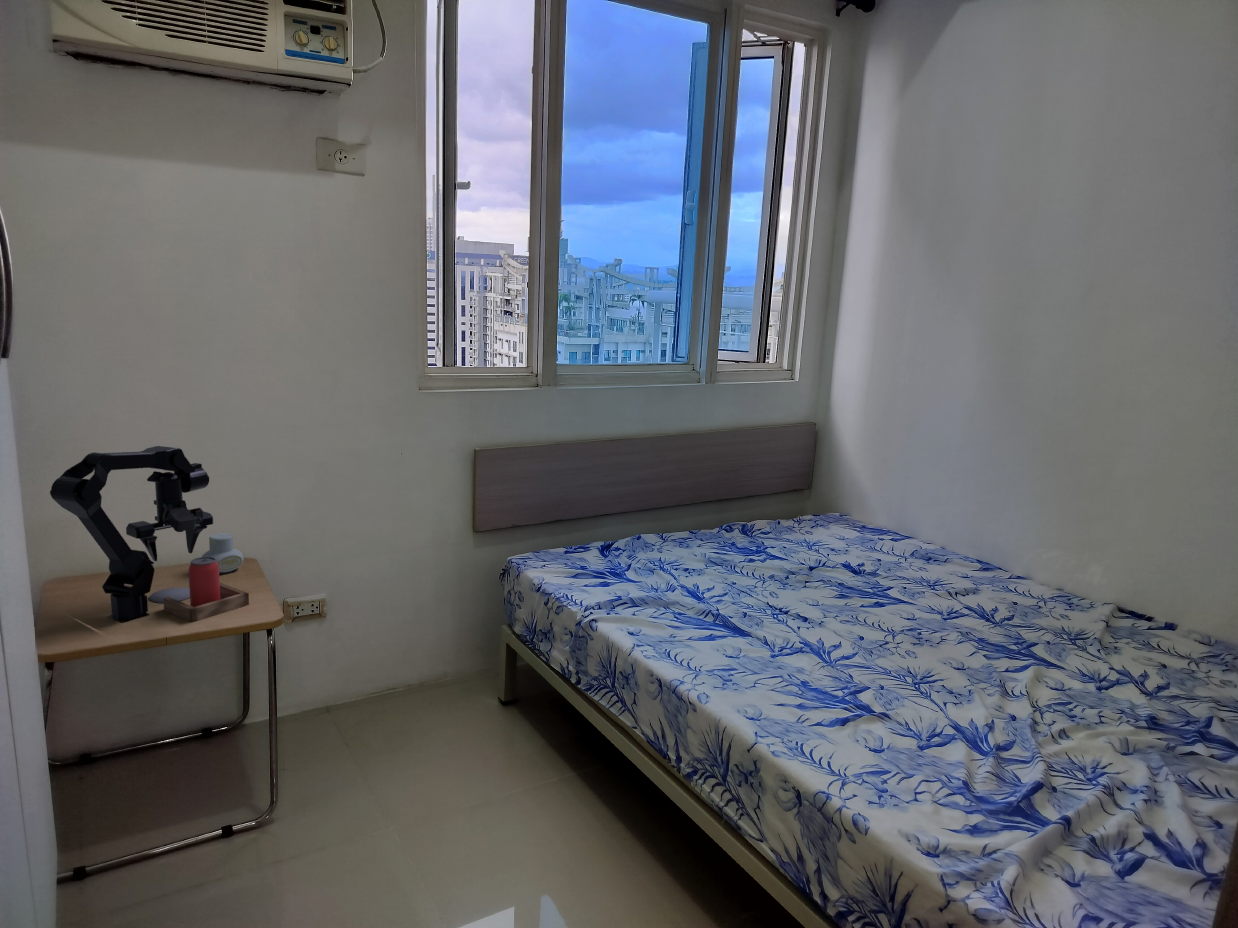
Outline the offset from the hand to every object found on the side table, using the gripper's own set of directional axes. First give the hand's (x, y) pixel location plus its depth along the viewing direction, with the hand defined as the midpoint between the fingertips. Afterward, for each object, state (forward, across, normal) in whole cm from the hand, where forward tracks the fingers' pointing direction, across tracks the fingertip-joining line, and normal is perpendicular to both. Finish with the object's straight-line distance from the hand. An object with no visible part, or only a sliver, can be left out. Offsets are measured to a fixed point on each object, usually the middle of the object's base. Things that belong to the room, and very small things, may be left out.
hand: (173, 556), depth 198 cm
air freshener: (+11, +18, +11) cm, 24 cm away
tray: (+10, +1, -12) cm, 16 cm away
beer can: (+11, +1, -12) cm, 16 cm away
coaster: (+10, 0, +1) cm, 11 cm away
